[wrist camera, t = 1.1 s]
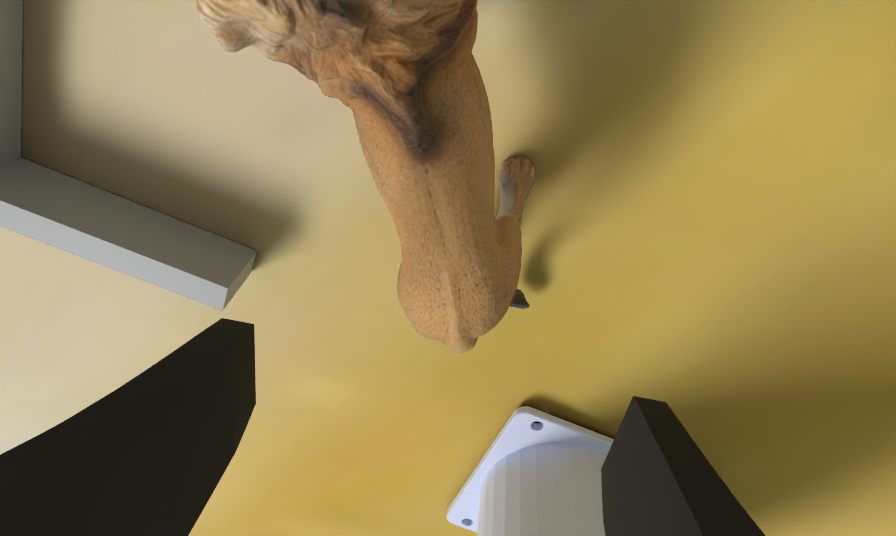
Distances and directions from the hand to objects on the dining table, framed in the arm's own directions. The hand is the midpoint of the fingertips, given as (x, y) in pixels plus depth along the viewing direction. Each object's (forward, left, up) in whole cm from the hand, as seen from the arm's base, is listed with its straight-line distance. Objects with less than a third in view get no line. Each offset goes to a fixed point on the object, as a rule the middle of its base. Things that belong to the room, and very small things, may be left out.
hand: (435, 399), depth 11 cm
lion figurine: (+2, -2, -10) cm, 10 cm away
